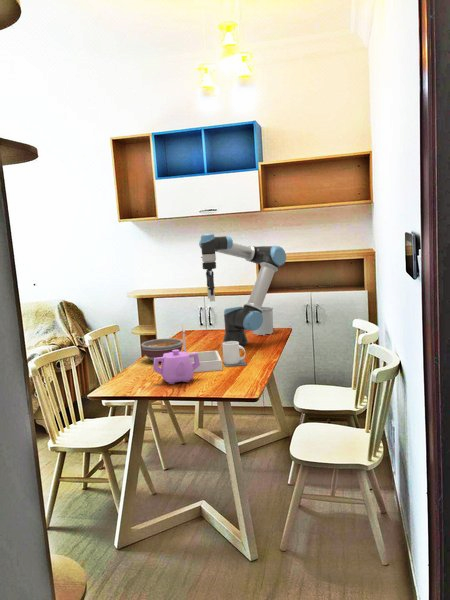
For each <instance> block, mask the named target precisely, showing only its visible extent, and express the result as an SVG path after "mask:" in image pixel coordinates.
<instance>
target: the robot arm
mask: <svg viewBox="0 0 450 600" xmlns="http://www.w3.org/2000/svg"><path fill="white" fill-rule="evenodd" d="M198 243H199V244H198V245H199V247H200V249H201V256H200V258H201V261H202V269H203V270H206V272H205V276H206V287H207V291H206V292H207V299H209V302H216V296H215V283H214V282H215V281H214V280H215V279H214V277H215V276H214V271H213V270H216V269H217V263H216V260H217V255H216V253H219V254H225V255H228V256H233V257H237V258H239V259H244V260H245V261H247V262H250V263H254V264H256V265H257V264H258V265H260V269H259V272H258V273H257V274H258V275H257V277H256V280H255V282H254V285H253V287H252V290H251V293H250V295H249V299H248V301H247V303H245V304H243V306H235V307H228V308H225V309H224V312H223V317H224V332H225V334H224V337H223V341H222V343H224V342H228V341H237V342H239V345H240V346H242V347H244V346H247V345H248V344H249V342H248V338H247V336H246V332H245V331H252V332H253V331H254V330H257V329H259V328H260V327H261V325H262V323H263V318H262V317H263V316H262V310H261V307H262V306H263V304H264V302H265V298H266V295H267V294H268V293H267V292H268V291H269V288H270V285H271V284H272V283H271V282H272V280H273V277H274V274H275V273H276V272H278V271H279V268H280V267H281V266H283V265H284V264H285V263H286V261H287V254H286V251H285V249H284V248H283V247H281V246H277V245H273V246H272V245H266V246H265V245H263V246H254V245H248V246H246V245H242V244H239V243H235V242H234V240H233V238H232V237H231V236H228V235H224V236H215V234H214V233H204V234H201V236H200V240H199V242H198Z"/></svg>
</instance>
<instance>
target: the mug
mask: <svg viewBox="0 0 450 600" xmlns="http://www.w3.org/2000/svg"><path fill="white" fill-rule="evenodd" d="M240 350H242V351H244V353H246V350H245V348H244V346H240V345H239V342H237V341H228V342H224V343H223V342H222V356H223V357H222V359H223V361H224V363H225V364H228V365H232V364H238V363H239V362H240V360H245V357H246V354H244V355H243V356H240ZM223 361H222V362H223ZM224 363H223V364H224Z"/></svg>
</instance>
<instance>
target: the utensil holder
mask: <svg viewBox="0 0 450 600" xmlns="http://www.w3.org/2000/svg"><path fill="white" fill-rule="evenodd" d="M273 309H274V308H273V306H270V305H262V307H261V310H262V316H263V317H262V318H263V323H262V325H261V327H260V328H259V329H257V330H254V331H252V335H253V334H257V335H256V336H258V335H263V336H266V335H265V334H270V335H272V334H271V333H273V334H274V317H273Z"/></svg>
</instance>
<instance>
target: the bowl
mask: <svg viewBox="0 0 450 600" xmlns="http://www.w3.org/2000/svg"><path fill="white" fill-rule="evenodd" d="M183 346H184V345H183V339H179V338H169V337H168V338H156V339H151V340H147V341H143V342H142V343H141V346H140V347H141V349H142V352H143V354H144V355H145V357H147V358H148V359H149V360H150V361H152V362H154V358H158V357H163V354H165V353H169V352H172V350H179V352H180V351H182V349H183ZM159 362H160V363H162V361H159Z"/></svg>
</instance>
